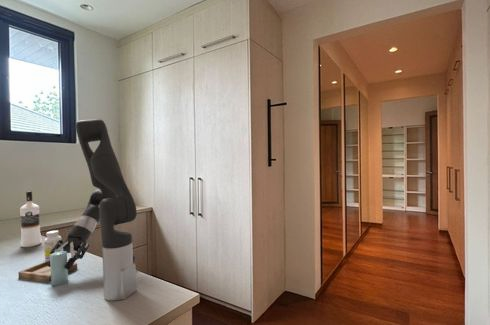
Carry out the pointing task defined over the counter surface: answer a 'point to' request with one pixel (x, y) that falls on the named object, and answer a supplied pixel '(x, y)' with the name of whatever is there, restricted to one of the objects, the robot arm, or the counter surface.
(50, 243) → the supplement bottle
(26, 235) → the vodka
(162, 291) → the counter surface
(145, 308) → the counter surface
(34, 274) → the tray
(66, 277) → the pale green capsule
